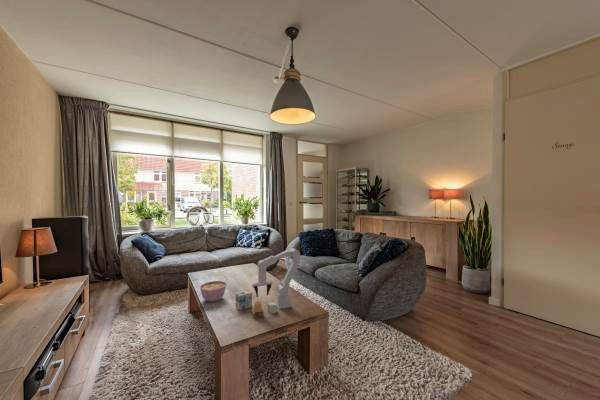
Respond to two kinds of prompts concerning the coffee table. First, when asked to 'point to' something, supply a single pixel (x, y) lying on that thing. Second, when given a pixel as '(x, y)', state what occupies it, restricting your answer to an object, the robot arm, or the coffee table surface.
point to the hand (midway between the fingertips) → (262, 295)
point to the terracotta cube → (257, 306)
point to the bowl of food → (213, 290)
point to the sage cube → (272, 307)
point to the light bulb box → (243, 300)
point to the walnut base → (257, 314)
